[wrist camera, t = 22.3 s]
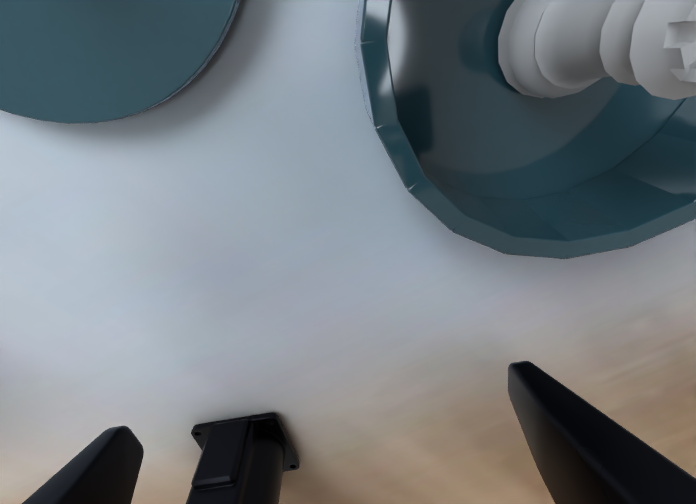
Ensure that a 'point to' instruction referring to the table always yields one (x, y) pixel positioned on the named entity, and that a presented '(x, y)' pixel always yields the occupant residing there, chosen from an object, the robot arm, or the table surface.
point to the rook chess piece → (599, 45)
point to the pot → (519, 137)
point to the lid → (103, 54)
